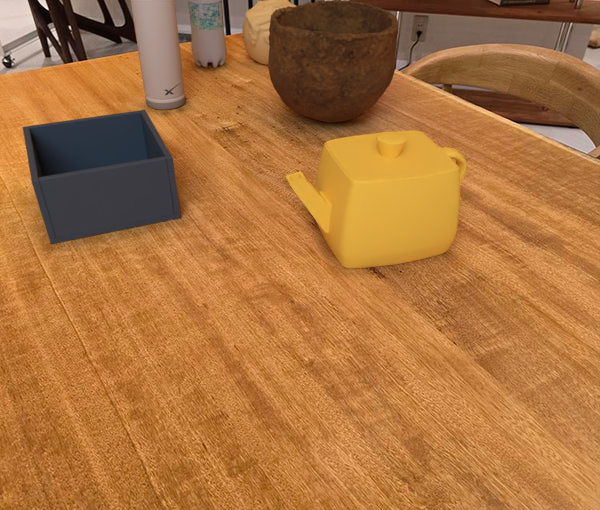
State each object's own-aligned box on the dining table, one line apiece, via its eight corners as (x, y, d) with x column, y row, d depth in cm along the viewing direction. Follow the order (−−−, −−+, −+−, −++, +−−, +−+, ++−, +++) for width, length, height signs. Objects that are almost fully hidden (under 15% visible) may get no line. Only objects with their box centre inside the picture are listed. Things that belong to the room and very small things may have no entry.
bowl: (346, 155, 82) (354, 42, 72) (244, 121, 90) (239, 16, 81) (412, 114, 93) (426, 12, 84) (316, 87, 102) (319, -8, 92)
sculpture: (250, 72, 107) (248, 8, 100) (238, 52, 116) (235, -8, 109) (311, 68, 110) (312, 4, 103) (294, 48, 118) (295, -11, 112)
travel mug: (180, 112, 93) (164, -32, 80) (140, 108, 93) (117, -35, 81) (192, 97, 97) (178, -41, 85) (154, 94, 98) (134, -43, 85)
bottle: (233, 60, 112) (226, -62, 100) (220, 71, 107) (211, -56, 95) (200, 57, 114) (189, -64, 101) (186, 68, 109) (172, -58, 96)
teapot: (302, 283, 59) (304, 177, 52) (272, 220, 68) (270, 122, 61) (479, 253, 64) (505, 152, 56) (429, 198, 73) (445, 104, 65)
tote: (50, 244, 64) (31, 181, 59) (39, 184, 74) (22, 126, 69) (181, 218, 68) (173, 157, 64) (153, 165, 79) (144, 109, 74)
